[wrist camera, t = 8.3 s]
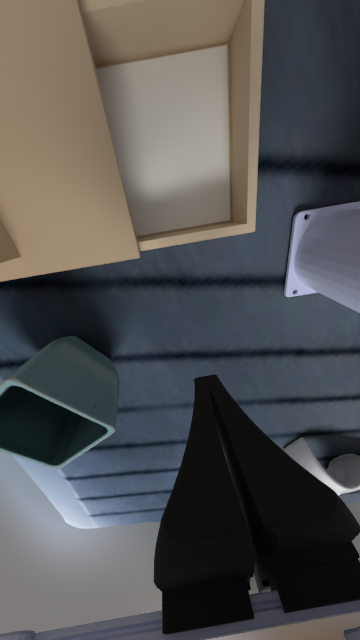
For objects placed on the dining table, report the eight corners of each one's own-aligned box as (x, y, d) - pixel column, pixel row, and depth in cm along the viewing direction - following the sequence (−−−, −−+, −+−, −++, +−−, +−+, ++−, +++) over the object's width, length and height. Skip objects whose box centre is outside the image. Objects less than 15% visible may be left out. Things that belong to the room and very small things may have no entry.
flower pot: (89, 394, 26) (57, 472, 18) (26, 359, 22) (-50, 436, 14) (133, 359, 23) (117, 431, 16) (69, 313, 20) (7, 376, 12)
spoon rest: (382, 453, 41) (421, 496, 35) (336, 477, 45) (364, 519, 39) (313, 424, 34) (347, 471, 27) (267, 456, 38) (287, 503, 32)
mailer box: (235, 32, 12) (266, -46, 8) (236, 228, 17) (255, 231, 14) (-18, 78, 12) (-94, 21, 8) (62, 258, 17) (36, 269, 14)
